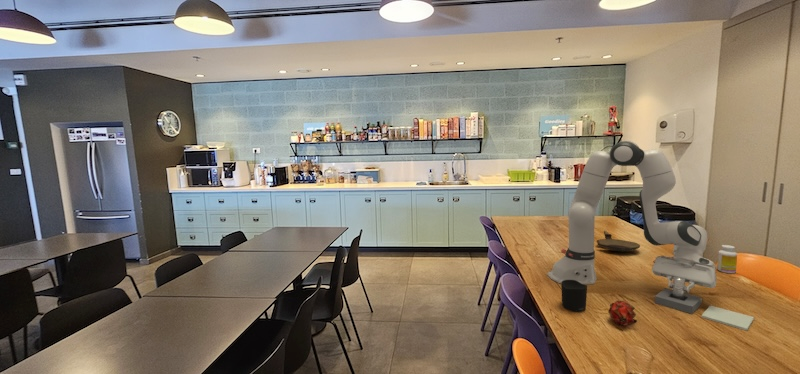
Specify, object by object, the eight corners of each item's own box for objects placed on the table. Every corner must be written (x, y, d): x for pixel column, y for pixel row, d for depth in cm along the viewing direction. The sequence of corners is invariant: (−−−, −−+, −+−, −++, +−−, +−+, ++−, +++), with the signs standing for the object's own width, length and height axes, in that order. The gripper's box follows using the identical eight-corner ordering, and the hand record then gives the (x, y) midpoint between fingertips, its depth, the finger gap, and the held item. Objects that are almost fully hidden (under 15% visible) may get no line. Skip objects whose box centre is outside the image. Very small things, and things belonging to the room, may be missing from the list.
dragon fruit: (623, 318, 129) (624, 338, 119) (602, 303, 131) (602, 321, 122) (639, 305, 125) (642, 325, 115) (618, 290, 127) (619, 308, 117)
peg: (677, 306, 133) (679, 280, 132) (669, 302, 137) (671, 276, 136) (685, 305, 134) (687, 279, 132) (677, 301, 137) (679, 276, 136)
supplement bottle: (739, 274, 161) (741, 248, 159) (723, 273, 162) (725, 248, 161) (729, 269, 167) (730, 244, 166) (713, 268, 169) (715, 244, 167)
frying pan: (595, 253, 198) (596, 241, 197) (596, 240, 224) (596, 229, 223) (641, 259, 187) (642, 245, 186) (637, 244, 212) (637, 232, 211)
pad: (747, 330, 115) (747, 328, 115) (701, 317, 124) (701, 315, 124) (753, 319, 122) (753, 317, 121) (710, 307, 131) (710, 305, 131)
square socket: (692, 314, 127) (692, 306, 127) (654, 303, 137) (655, 296, 136) (701, 304, 134) (701, 297, 133) (664, 294, 144) (665, 287, 143)
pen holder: (562, 311, 134) (562, 287, 132) (560, 300, 142) (560, 278, 141) (588, 314, 130) (589, 290, 129) (584, 303, 139) (585, 280, 138)
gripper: (655, 250, 145) (645, 278, 141) (718, 262, 129) (710, 294, 124) (658, 258, 148) (649, 285, 144) (720, 271, 132) (712, 301, 127)
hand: (678, 289), depth 134 cm, fingers closed on peg, 4 cm apart
